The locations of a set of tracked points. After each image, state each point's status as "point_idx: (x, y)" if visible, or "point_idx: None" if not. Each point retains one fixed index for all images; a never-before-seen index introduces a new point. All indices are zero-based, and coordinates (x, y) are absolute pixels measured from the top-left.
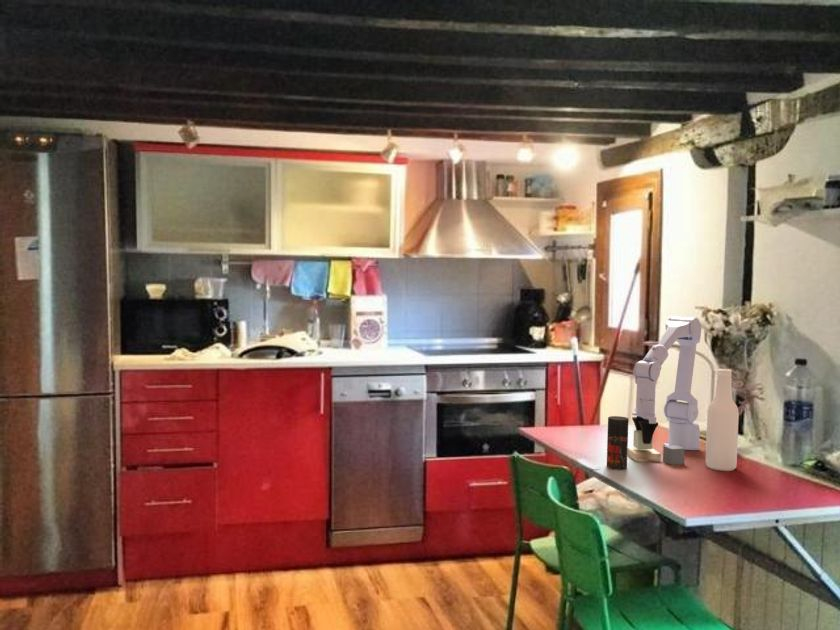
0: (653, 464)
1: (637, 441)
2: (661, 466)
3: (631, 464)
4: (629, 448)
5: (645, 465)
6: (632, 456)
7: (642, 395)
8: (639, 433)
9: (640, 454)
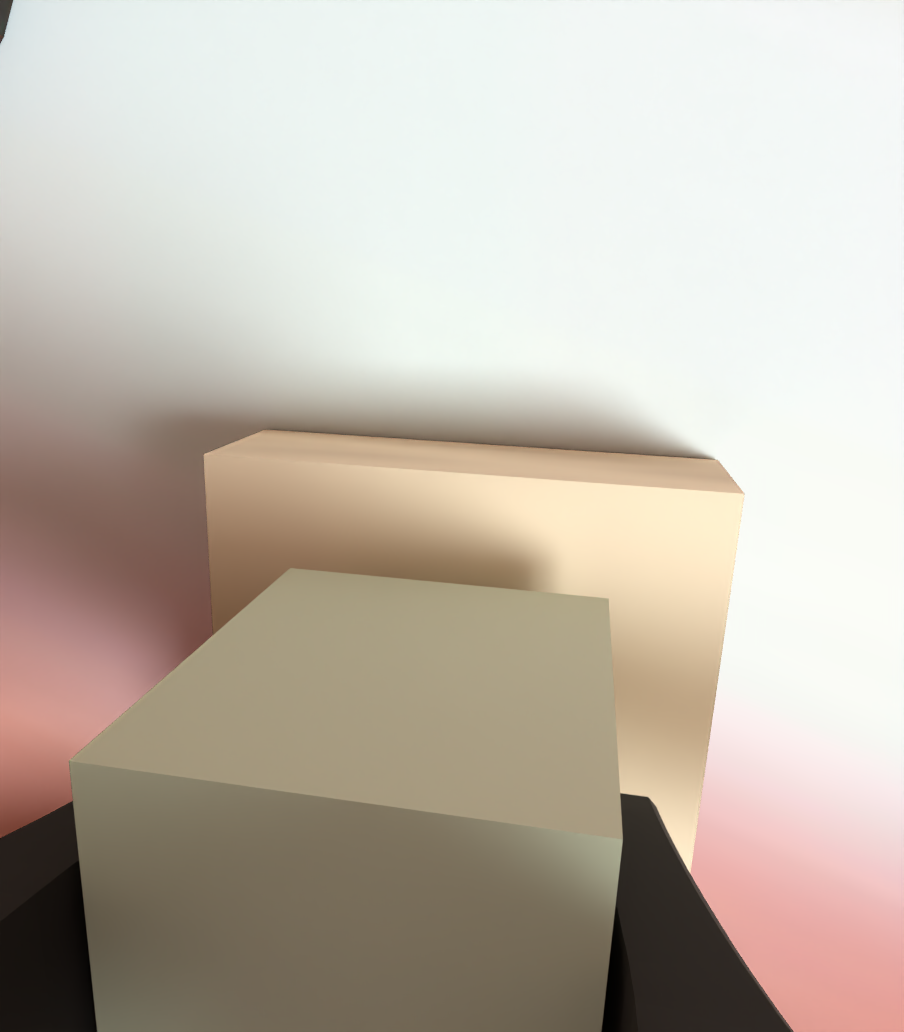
0: (110, 634)
1: (274, 637)
2: (19, 693)
3: (75, 287)
4: (653, 506)
5: (43, 493)
6: (403, 447)
7: None
8: (79, 797)
9: (215, 546)
